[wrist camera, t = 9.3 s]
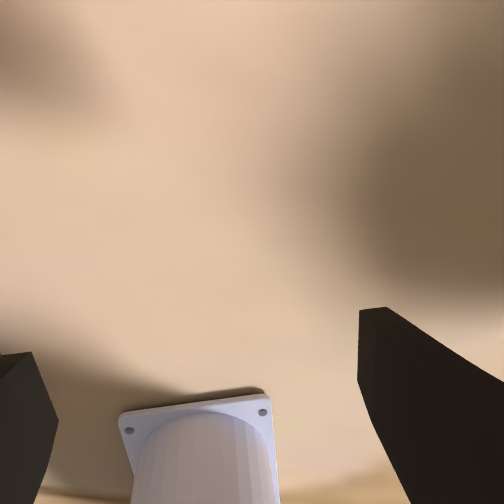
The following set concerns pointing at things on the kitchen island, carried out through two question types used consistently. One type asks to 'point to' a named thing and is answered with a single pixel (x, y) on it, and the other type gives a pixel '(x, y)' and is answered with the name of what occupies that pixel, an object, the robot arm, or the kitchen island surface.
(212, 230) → the kitchen island surface
